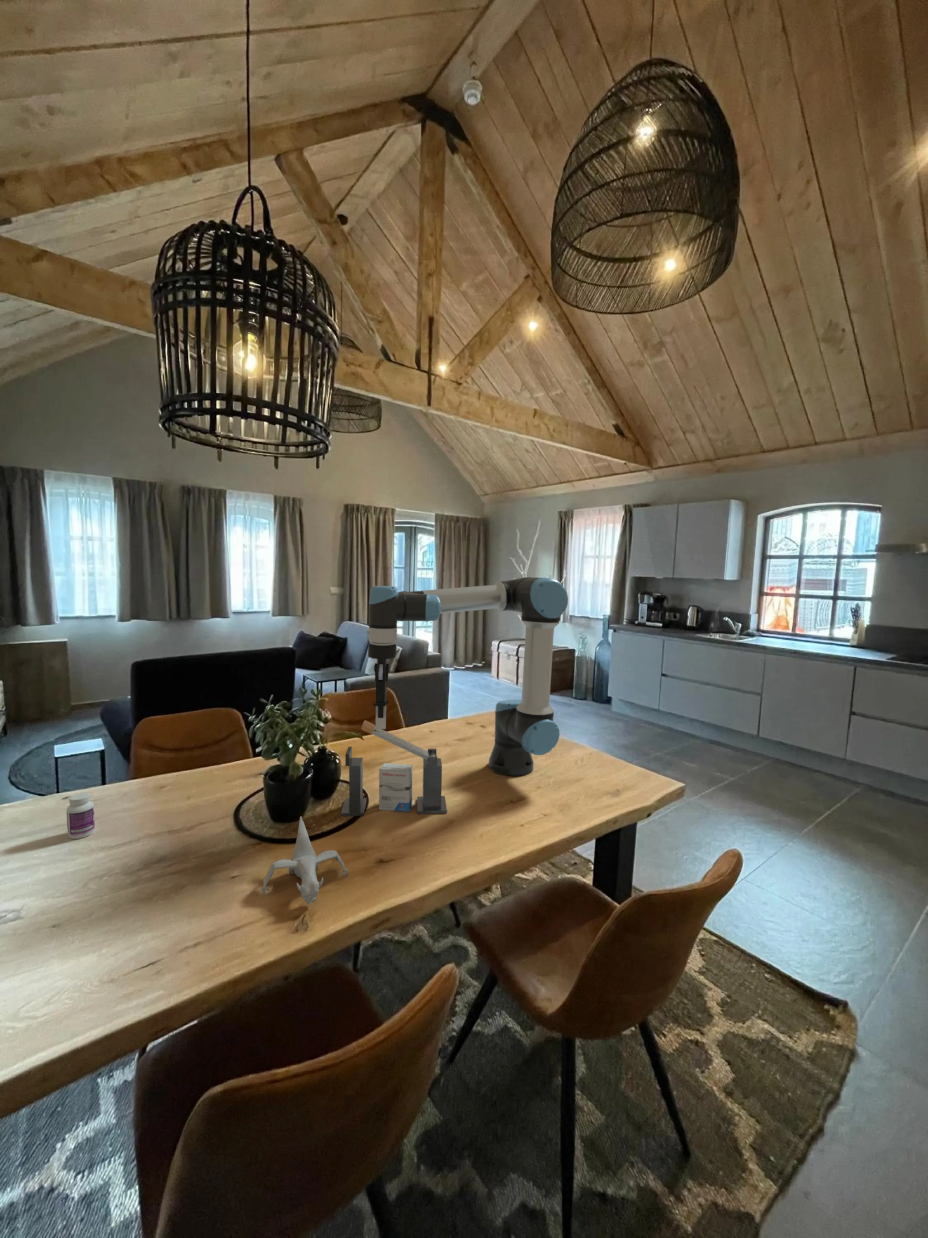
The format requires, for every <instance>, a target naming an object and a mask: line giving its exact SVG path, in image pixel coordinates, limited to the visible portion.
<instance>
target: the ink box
mask: <svg viewBox="0 0 928 1238" xmlns="http://www.w3.org/2000/svg"><path fill="white" fill-rule="evenodd" d="M378 773H379V774H378V779H379V780H378V782H379V783H378V787H379V788H378V789H379V790H378V794H379V795H378V802H379V803H378V808H379V809H378V810H379V811H393V812H395V811H396V812H406V813H407V812H409V813H410V811H411V808H412V806H413V764H400V763H387V762H386V763H385V762H384V763H382V765H381V766H380V768H379V772H378Z"/></svg>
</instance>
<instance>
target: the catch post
mask: <svg viewBox="0 0 928 1238" xmlns="http://www.w3.org/2000/svg"><path fill="white" fill-rule="evenodd" d="M345 752H346V753H345V765H344V766H345V767H348V768H349V769H348V778H349V779H348V788H349V789H348V797H347V798H346V797H345V799H344V801H343V804H342V809H341V812H340V817H363V816H364V815H365V812H366V811H365V810H366V806H367V802H368V801H367V797H364V795H363V789H364V788H363V782H364V781H363V775H364V774H363V770H364V769H363V767H364V766H363V763H364V760H363V759H364V758H363V757H353V746H348V747H347V749H346V751H345Z"/></svg>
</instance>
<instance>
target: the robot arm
mask: <svg viewBox="0 0 928 1238" xmlns="http://www.w3.org/2000/svg"><path fill="white" fill-rule="evenodd" d="M368 599H369V600H368V601H369V602H368V630H366V632H365V634H367V635H368V642H369V644H368V649H367V652H368V653H367V655H368V658H370V659H372V660H376V663H374V666H373V668H374V669H373V671H374V681H375V702H374V703H373V705H372V706H373V707H375V724H374V726H375V729H382V730H386V727H387V704H389V700H387V698H388V697H387V689H388V688H387V686H388V681H389V671H390V663H388V660H392V659H395V658H396V657H397V644H396V643H397V642H398V640H397V639H398V622H425V623H428V622H436V621H437V620H438V619H439V618H440V616H441V614H450V613H461V612H471V611H482V610H493V609H496V610H497V611H498V612H504V611H506V612H508V611H509V612H518V613H521V620H520V621H521V622H522V624H523V625H524V626H525V635H524V638H525V639H524V650H523V651H524V653H523V654H524V656H523V669H522V670H523V671H522V672H523V673H522V689H521V690H522V691H521V699H505V700H500V701H498V702H497V703H496V705H495V711H494V716H495V717H494V718H495V719H494V746H493V748H492V751H491V753H490V757H489V759H488V768H489V769H490V770H491V771H492V772H494V773H496V774H500V775H504V776H511V777H512V776H514V777H516V776H525V775H527V774H530V773H531V772H533V771H534V759H533V755H535V756H544V755H546V754H548V753H550V752H551V751H552V750H553V748H555V747H556V746H557V744H558V742H559V740H560V734H561V733H560V728H559V726H558V725H557V723H556V722H555V721H554V714H555V713H554V712H555V711H554V708H553V707H552V706H551V705H550V698H551V681H552V669H553V668H552V667H553V666H552V665H553V653H554V652H553V651H554V650H553V648H554V636H555V635H554V634H555V628H556V627H557V626H558V625H559V624H560V621H561V620H560V618H561V616H563V614H564V612H565V611H566V610H567V608H568V605H569V595H568V592H567V589H566V588H565V587H564V585H563V584H562V583H561V582H560V581H558V580H556V579H553V578H550V577H530V576H527V577H519V578H515V579H509V580H508V579H507V580H501V581H496V582H495V583H494V584H493V585H492V584H490V585H478V586H477V585H476V586H475V585H474V586H466V587H451V588H438V589H426V590H425V589H424V590H412V591H406V590H403V591H402V590H401V591H399V589H398V587H397V586H394V585H393V586H391V585H373V586H372V587H371V588H370V589H369V598H368Z"/></svg>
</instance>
